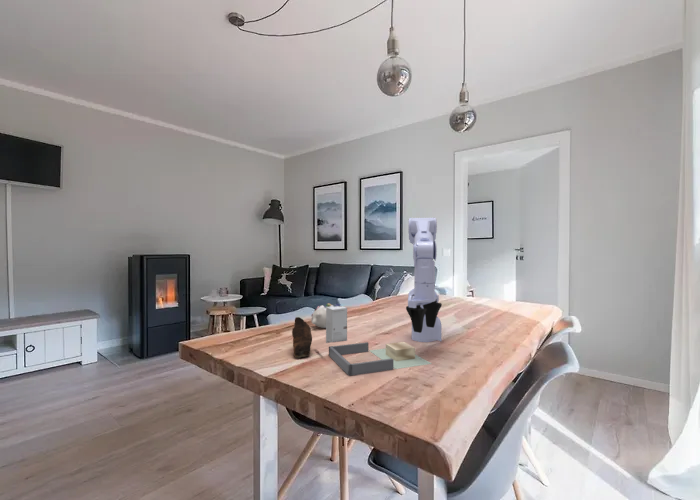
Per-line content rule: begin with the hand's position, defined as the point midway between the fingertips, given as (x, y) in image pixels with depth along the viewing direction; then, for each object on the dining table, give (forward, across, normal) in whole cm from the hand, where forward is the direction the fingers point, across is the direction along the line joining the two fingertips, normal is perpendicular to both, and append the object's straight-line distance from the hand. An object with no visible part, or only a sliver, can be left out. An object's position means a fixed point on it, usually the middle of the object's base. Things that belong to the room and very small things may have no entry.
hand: (424, 329), depth 96 cm
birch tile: (+7, +7, -4) cm, 11 cm away
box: (+8, +18, -10) cm, 22 cm away
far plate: (+8, +8, -4) cm, 12 cm away
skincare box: (+9, +6, -29) cm, 31 cm away
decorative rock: (+9, +20, -31) cm, 38 cm away
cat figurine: (+9, -8, -49) cm, 50 cm away
